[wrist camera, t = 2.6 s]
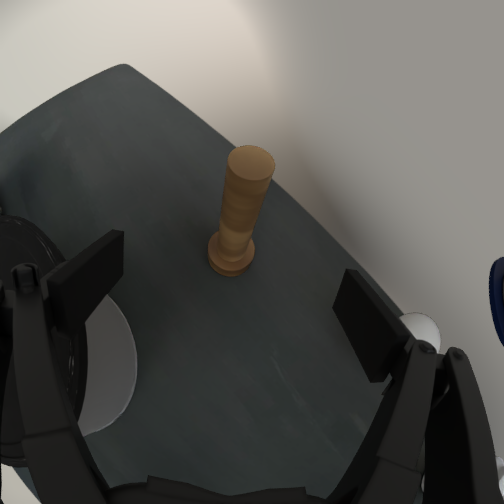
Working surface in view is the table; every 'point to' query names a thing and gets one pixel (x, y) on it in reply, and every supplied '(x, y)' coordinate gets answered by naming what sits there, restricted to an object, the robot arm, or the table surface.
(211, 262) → the wooden pestle
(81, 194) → the table surface
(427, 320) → the lightbulb
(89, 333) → the container
